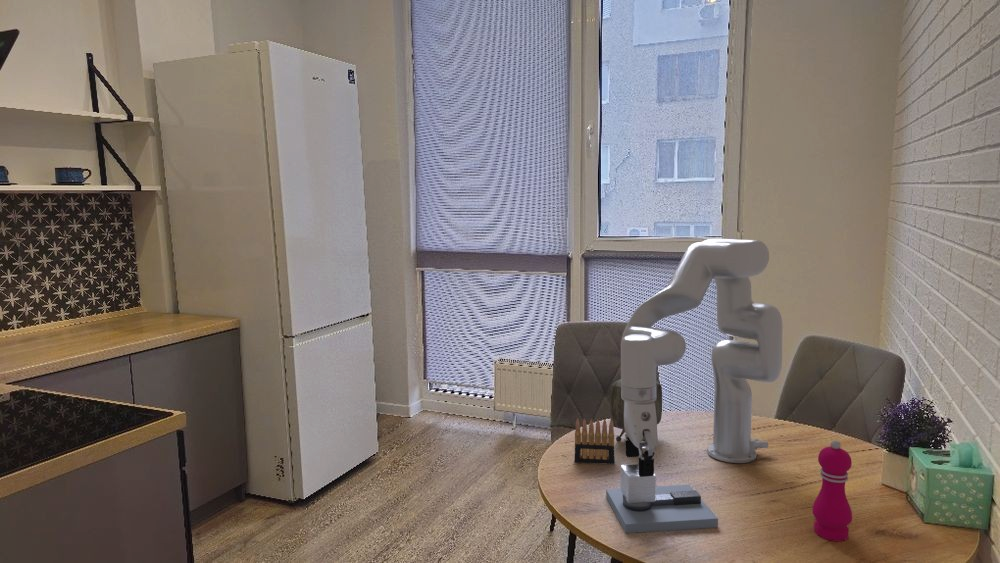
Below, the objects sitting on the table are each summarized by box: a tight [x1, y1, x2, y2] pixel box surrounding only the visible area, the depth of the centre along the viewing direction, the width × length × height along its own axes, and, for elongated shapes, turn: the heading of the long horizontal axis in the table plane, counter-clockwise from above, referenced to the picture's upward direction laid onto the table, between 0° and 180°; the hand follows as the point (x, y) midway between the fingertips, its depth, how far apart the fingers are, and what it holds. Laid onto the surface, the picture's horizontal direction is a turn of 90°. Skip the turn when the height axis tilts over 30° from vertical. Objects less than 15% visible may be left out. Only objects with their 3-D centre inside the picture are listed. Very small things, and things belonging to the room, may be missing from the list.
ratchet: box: [623, 489, 702, 512], centre depth 137 cm, size 17×6×6 cm, turn 95°
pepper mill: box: [811, 439, 853, 542], centre depth 126 cm, size 7×7×20 cm
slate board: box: [605, 484, 719, 534], centre depth 137 cm, size 20×16×2 cm
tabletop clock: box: [609, 378, 663, 442], centre depth 178 cm, size 14×9×25 cm, turn 135°
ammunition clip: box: [573, 417, 616, 465], centre depth 164 cm, size 11×2×12 cm, turn 81°
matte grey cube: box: [620, 463, 657, 503], centre depth 136 cm, size 6×6×6 cm
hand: (639, 465), depth 136 cm, fingers open, 9 cm apart
